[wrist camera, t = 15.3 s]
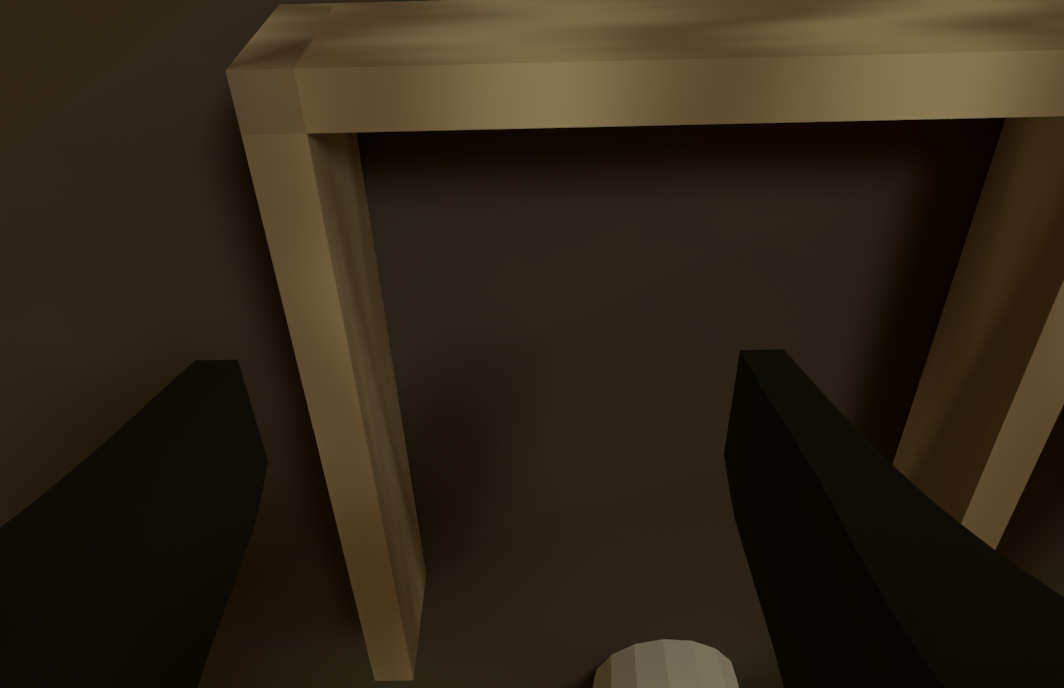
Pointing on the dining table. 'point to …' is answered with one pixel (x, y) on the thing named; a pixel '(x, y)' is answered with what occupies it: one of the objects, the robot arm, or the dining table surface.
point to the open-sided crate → (649, 100)
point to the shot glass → (666, 667)
